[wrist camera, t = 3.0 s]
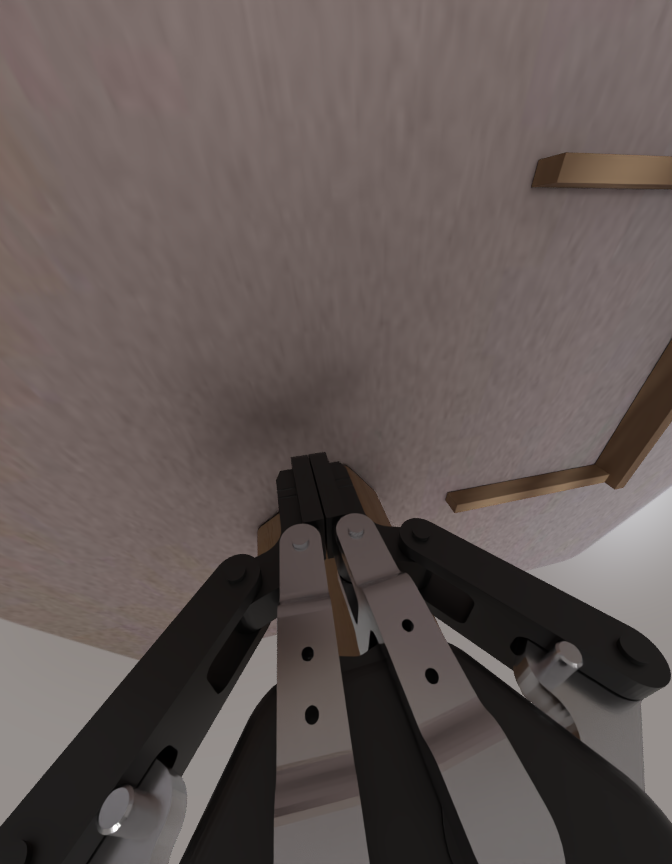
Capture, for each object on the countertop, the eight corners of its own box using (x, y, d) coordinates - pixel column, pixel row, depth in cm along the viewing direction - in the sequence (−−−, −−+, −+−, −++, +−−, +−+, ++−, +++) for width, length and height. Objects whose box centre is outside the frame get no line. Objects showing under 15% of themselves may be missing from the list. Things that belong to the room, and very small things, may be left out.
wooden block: (293, 549, 26) (345, 964, 11) (255, 528, 23) (256, 1029, 8) (376, 490, 24) (566, 888, 9) (344, 461, 21) (537, 940, 7)
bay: (790, 168, 17) (862, 158, 15) (598, 470, 30) (623, 487, 28) (539, 159, 14) (587, 146, 12) (445, 500, 27) (461, 522, 25)
